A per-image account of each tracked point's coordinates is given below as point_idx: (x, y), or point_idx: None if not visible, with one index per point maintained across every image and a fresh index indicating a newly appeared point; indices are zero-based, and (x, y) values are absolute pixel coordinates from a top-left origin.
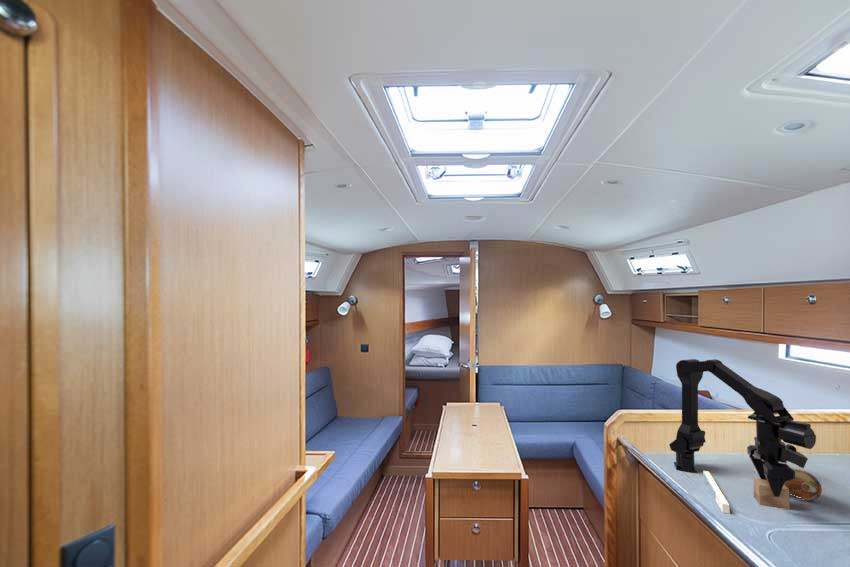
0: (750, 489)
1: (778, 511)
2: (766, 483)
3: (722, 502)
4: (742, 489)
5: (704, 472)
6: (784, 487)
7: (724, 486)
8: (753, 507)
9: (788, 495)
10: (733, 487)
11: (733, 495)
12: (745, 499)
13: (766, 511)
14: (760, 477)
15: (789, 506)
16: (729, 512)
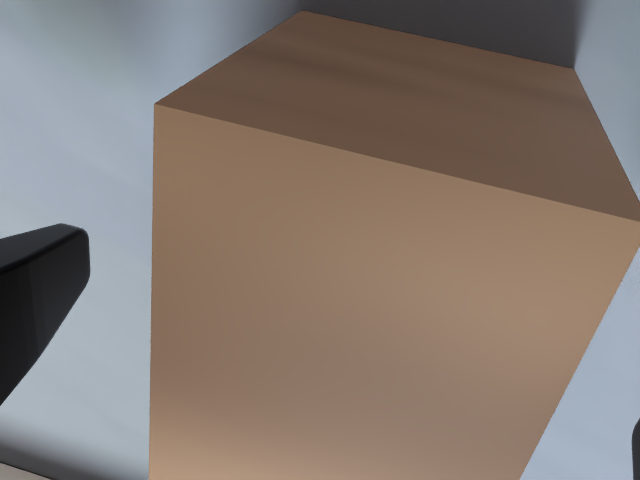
0: (42, 220)
1: (634, 260)
2: (354, 478)
3: None
4: (84, 305)
5: None
6: (533, 265)
7: (84, 423)
8: (538, 454)
9: (613, 165)
10: (71, 361)
11: None
12: None
13: (636, 392)
14: (33, 363)
15: (577, 81)
16: None
